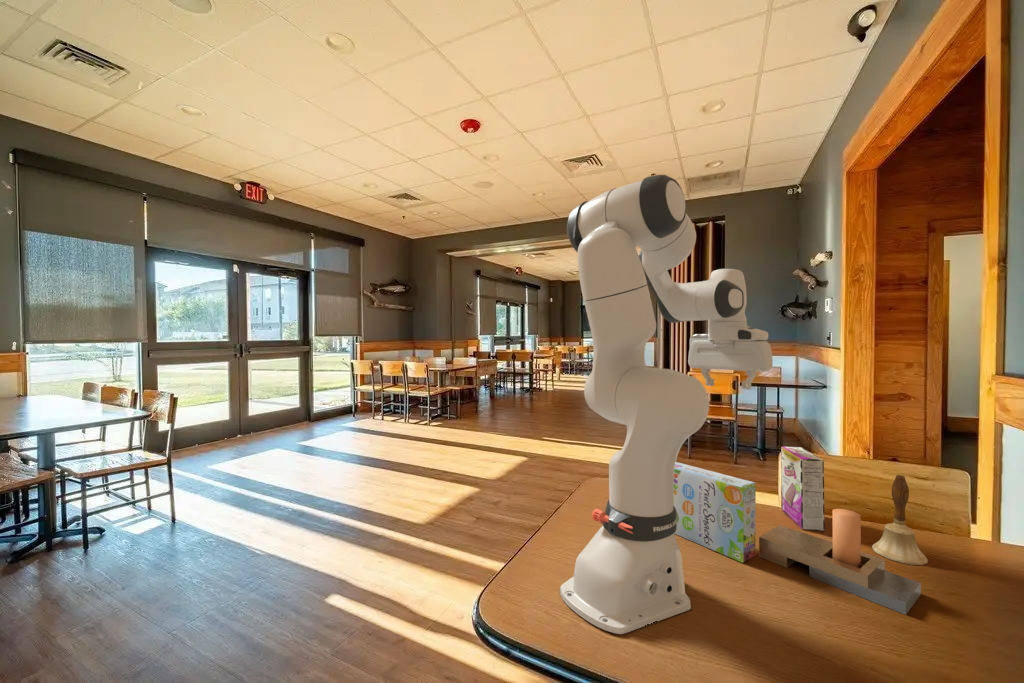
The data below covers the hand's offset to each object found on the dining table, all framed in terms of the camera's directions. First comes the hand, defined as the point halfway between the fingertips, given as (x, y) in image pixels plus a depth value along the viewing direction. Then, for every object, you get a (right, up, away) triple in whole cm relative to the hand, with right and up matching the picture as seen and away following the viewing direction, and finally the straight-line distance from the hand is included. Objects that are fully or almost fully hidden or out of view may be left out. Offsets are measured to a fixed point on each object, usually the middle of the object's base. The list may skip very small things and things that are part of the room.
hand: (727, 387), depth 108 cm
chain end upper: (+3, -31, -28) cm, 42 cm away
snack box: (-14, -32, -16) cm, 38 cm away
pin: (+5, -31, -32) cm, 45 cm away
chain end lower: (+7, -31, -33) cm, 46 cm away
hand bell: (+23, -31, -23) cm, 45 cm away
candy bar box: (+14, -31, -7) cm, 35 cm away
